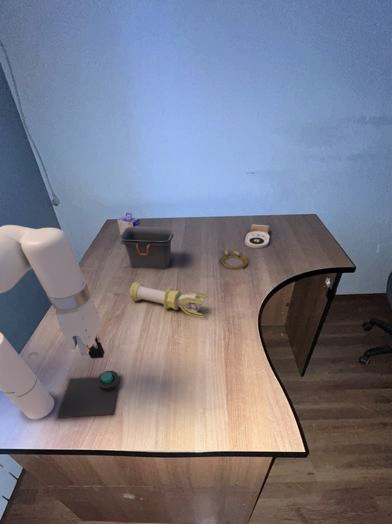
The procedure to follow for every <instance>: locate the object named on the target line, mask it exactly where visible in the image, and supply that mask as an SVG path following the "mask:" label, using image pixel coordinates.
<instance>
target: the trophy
mask: <svg viewBox="0 0 392 524" xmlns="http://www.w3.org/2000/svg"><path fill="white" fill-rule="evenodd" d="M129 297H130V299H131V301H133V302H138V301H141V300H144V301H145V300H146V301H149V302H154V303H158V304H162V305H163V309H165V310H169V309H173V310H175V311H178V310H179V308H180V309H181V311H183V312H184V313H185V314H187V315H190V316H195V317H199V318H205V316H204V315H203V313H201V312H207V313H208V312H209V311H208V310H207V308H206V307H203V306H202V305H203V303H204V302H205V301H206V299H207V297H209V294H208V293H207V294H206V293H203V292H197V291H188V292H186V293H184V294H183V293H182V291H180V290H174V288H172V287H170V286H169V287H168V288H167V289H166V290H165V291H164V290H160V289H155V288H150V287H146V286H144V284H143V283H141V282H140V281H137V280H136V281H134V282H132V284H131V286H130V289H129ZM198 311H201V312H198Z"/></svg>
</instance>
